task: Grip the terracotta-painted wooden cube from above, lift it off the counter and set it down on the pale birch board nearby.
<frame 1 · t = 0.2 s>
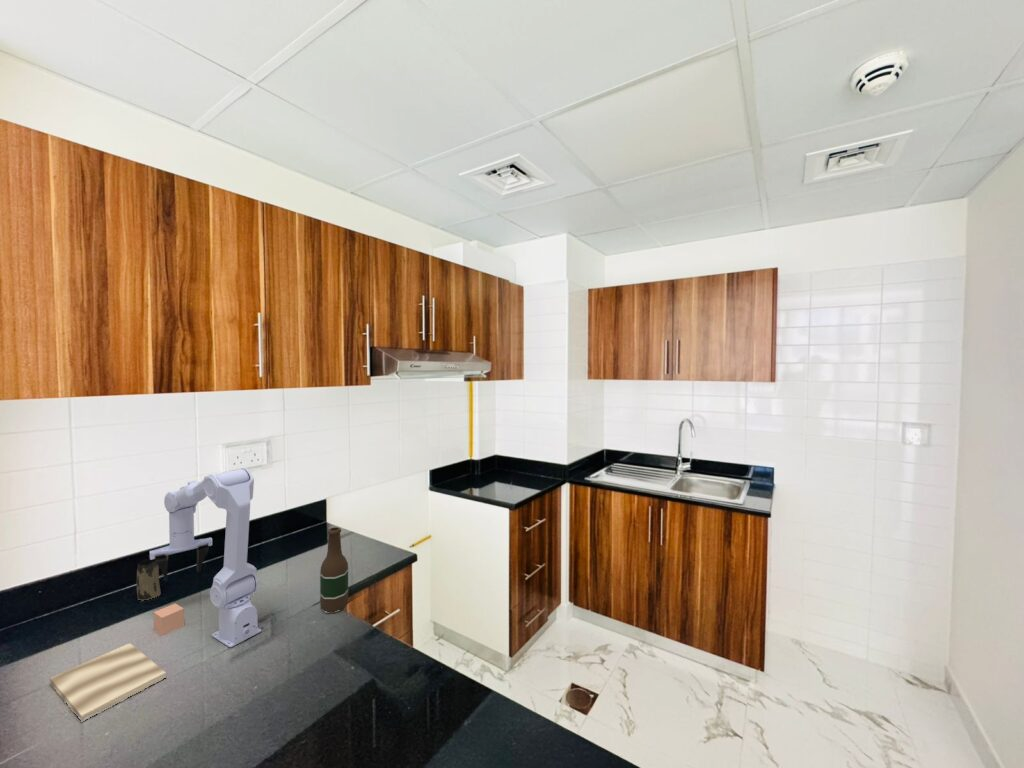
hand: (182, 575, 124), 10 cm above the counter, tool pointing down, fingers open, 7 cm apart
mug: (153, 595, 132), on the counter
terracotta cube: (169, 628, 115), on the counter
birch board: (108, 681, 95), on the counter
beer bottle: (334, 607, 126), on the counter
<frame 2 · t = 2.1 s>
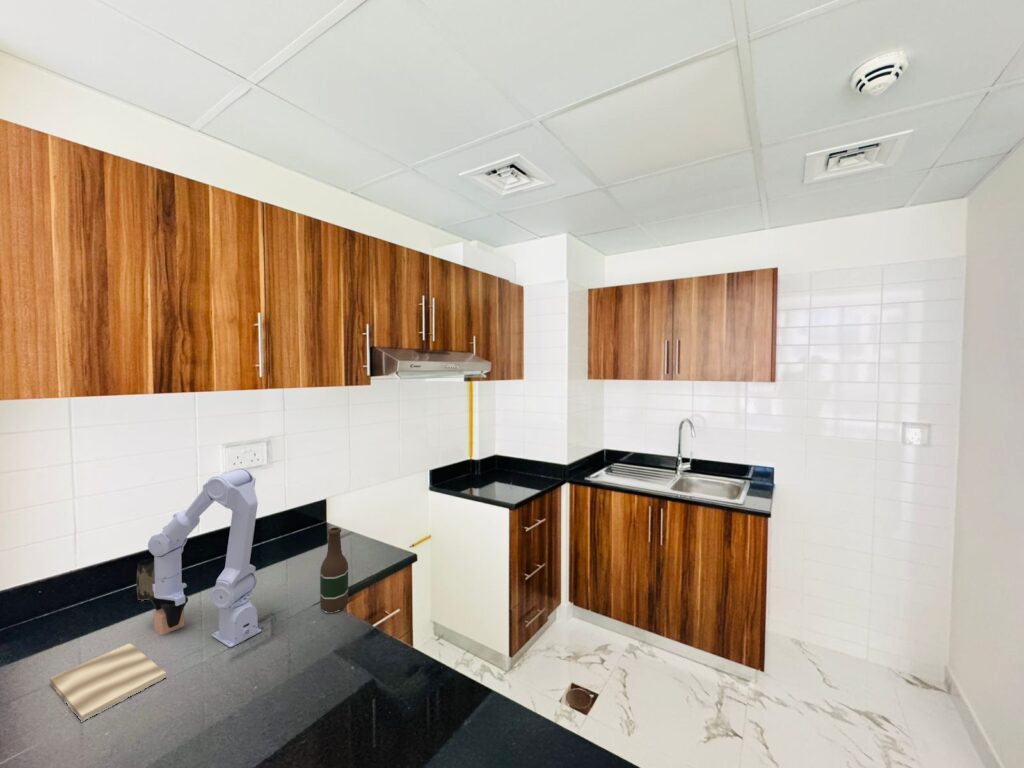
hand: (169, 622, 115), 1 cm above the counter, tool pointing down, fingers closed on terracotta cube, 5 cm apart
terracotta cube: (169, 627, 115), on the counter, touching gripper
everything else where it was.
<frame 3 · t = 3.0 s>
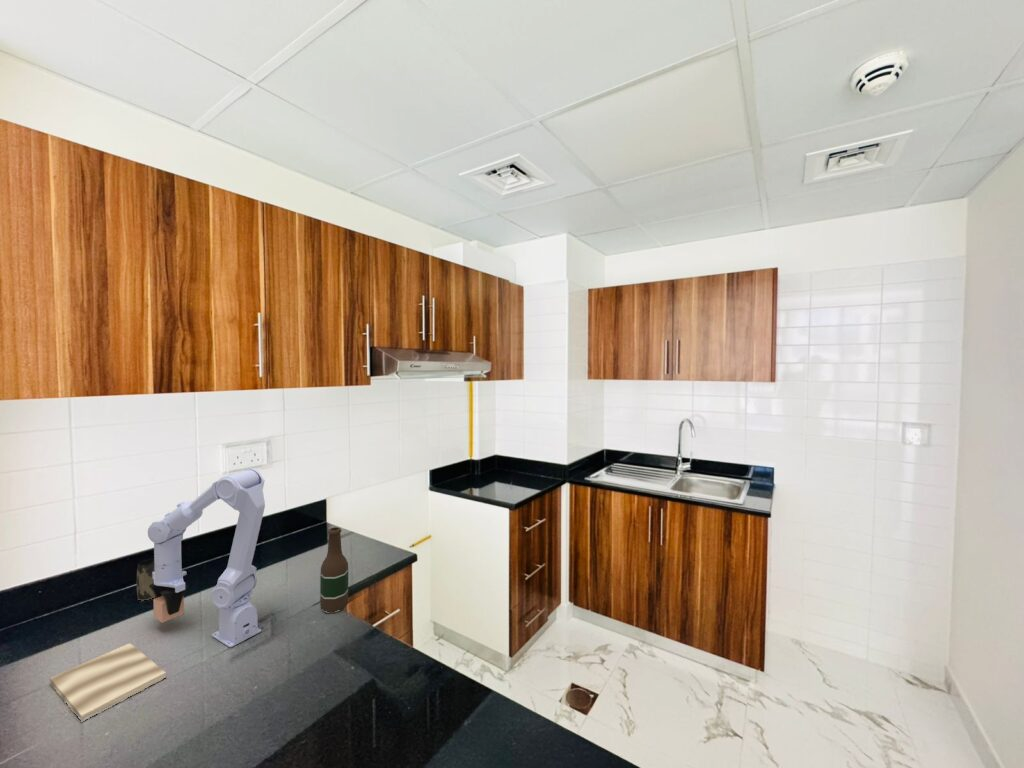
hand: (169, 610, 115), 5 cm above the counter, tool pointing down, fingers closed on terracotta cube, 5 cm apart
terracotta cube: (169, 615, 115), point 3 cm above the counter, touching gripper
everything else where it was.
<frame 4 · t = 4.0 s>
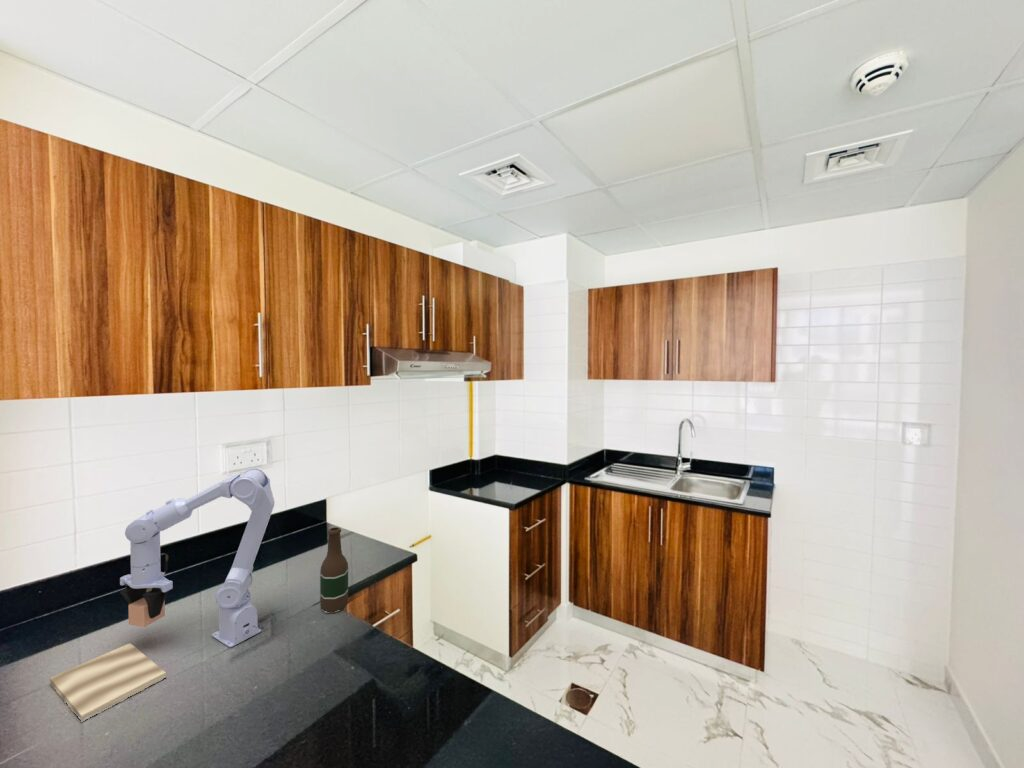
hand: (146, 614, 107), 8 cm above the counter, tool pointing down, fingers closed on terracotta cube, 5 cm apart
terracotta cube: (147, 620, 107), point 7 cm above the counter, touching gripper
everything else where it was.
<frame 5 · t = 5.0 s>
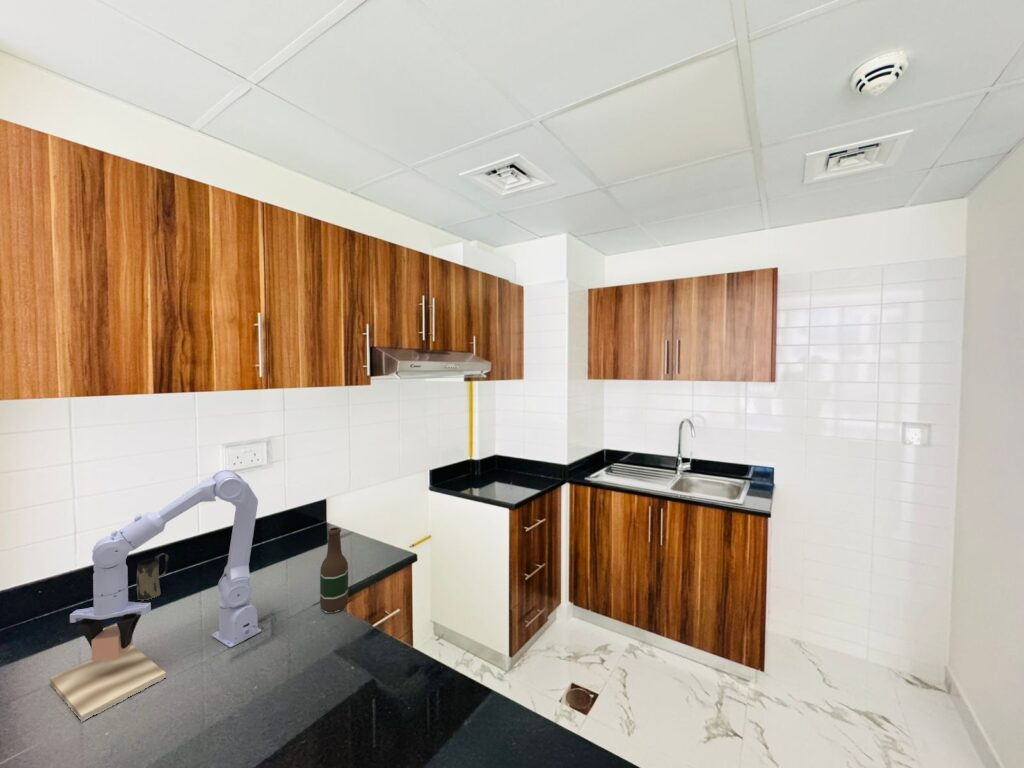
hand: (112, 647, 97), 7 cm above the counter, tool pointing down, fingers closed on terracotta cube, 5 cm apart
terracotta cube: (112, 653, 97), point 6 cm above the counter, touching gripper
everything else where it was.
when the fingers open (4 cm above the counter, at t = 6.0 s): terracotta cube stays where it is, resting on birch board.
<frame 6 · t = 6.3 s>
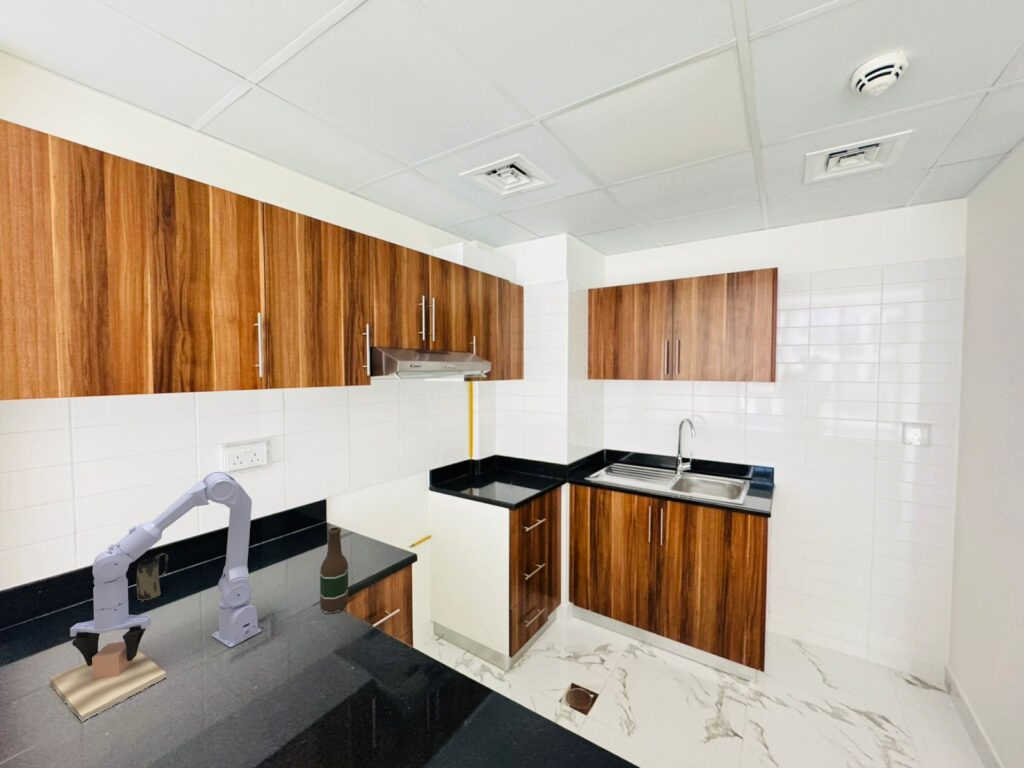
hand: (112, 660, 97), 4 cm above the counter, tool pointing down, fingers open, 7 cm apart
terracotta cube: (113, 669, 97), point 1 cm above the counter, touching birch board
everything else where it was.
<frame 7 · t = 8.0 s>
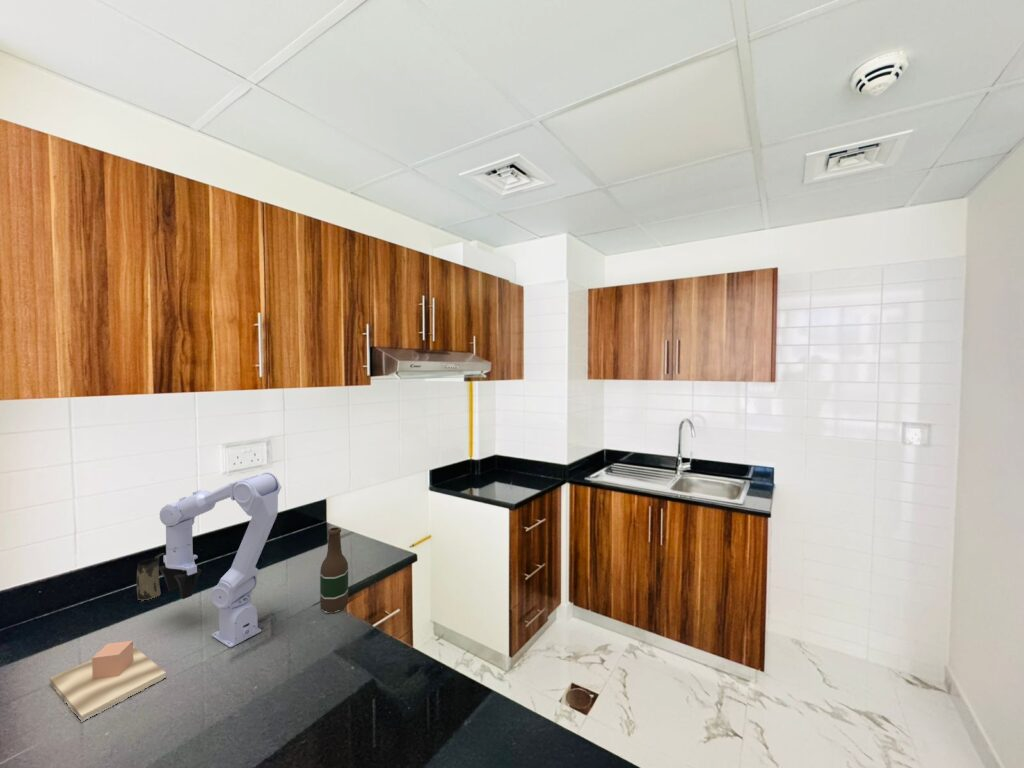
hand: (180, 593, 116), 9 cm above the counter, tool pointing down, fingers open, 7 cm apart
nothing on the counter moved.
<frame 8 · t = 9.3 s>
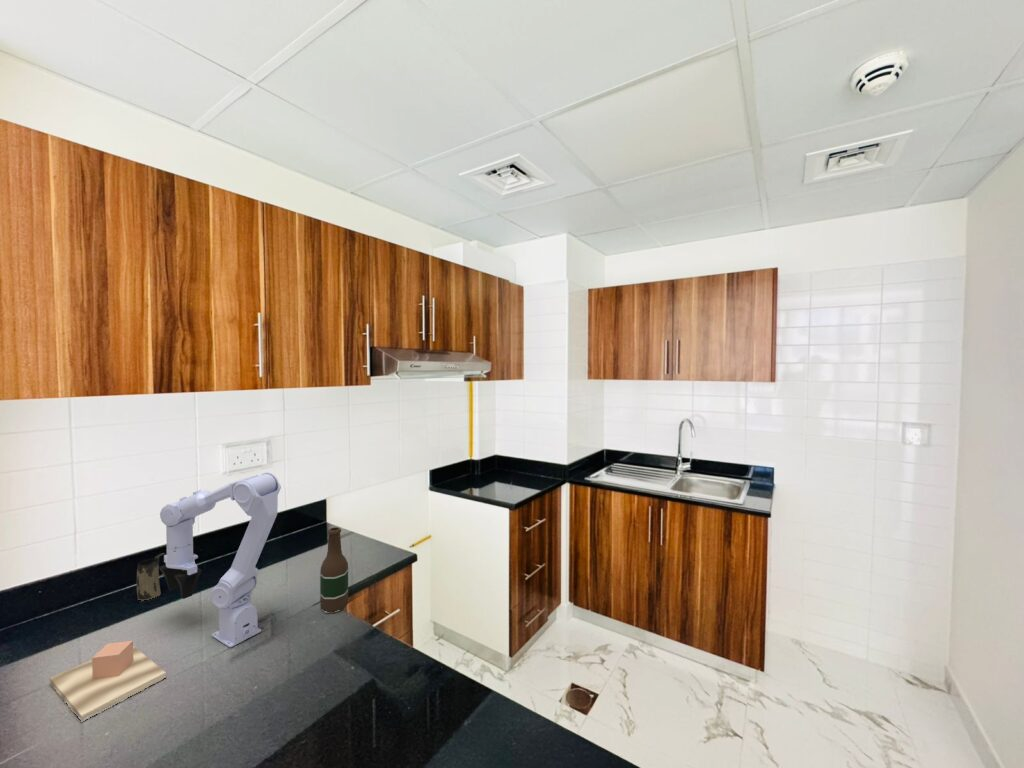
hand: (180, 592, 116), 9 cm above the counter, tool pointing down, fingers open, 7 cm apart
nothing on the counter moved.
at the end: terracotta cube inside the target area on the birch board (1.2 cm from its centre), point 1.5 cm above the birch board's base; terracotta cube tilted 0°; the gripper is holding nothing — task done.
